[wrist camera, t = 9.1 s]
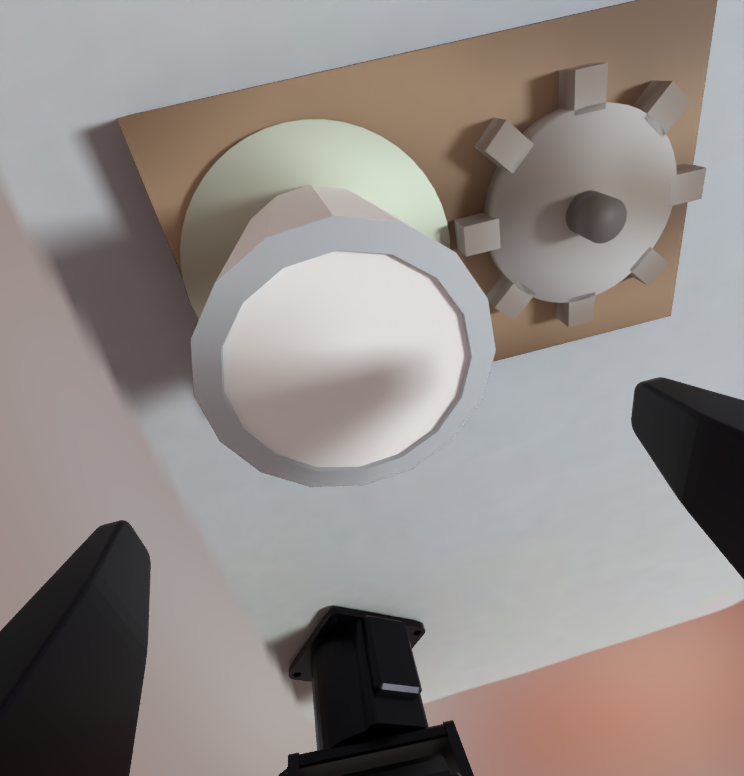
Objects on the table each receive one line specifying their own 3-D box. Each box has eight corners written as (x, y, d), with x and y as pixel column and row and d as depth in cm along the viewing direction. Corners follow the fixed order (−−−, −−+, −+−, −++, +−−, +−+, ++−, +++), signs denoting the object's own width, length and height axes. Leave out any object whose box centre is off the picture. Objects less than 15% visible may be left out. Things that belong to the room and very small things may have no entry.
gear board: (648, 301, 22) (709, 339, 19) (244, 405, 21) (241, 461, 18) (685, -11, 16) (782, -31, 13) (128, 115, 16) (95, 125, 12)
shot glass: (422, 348, 19) (490, 466, 14) (239, 374, 19) (228, 512, 13) (418, 151, 16) (509, 197, 10) (191, 174, 15) (144, 239, 9)
